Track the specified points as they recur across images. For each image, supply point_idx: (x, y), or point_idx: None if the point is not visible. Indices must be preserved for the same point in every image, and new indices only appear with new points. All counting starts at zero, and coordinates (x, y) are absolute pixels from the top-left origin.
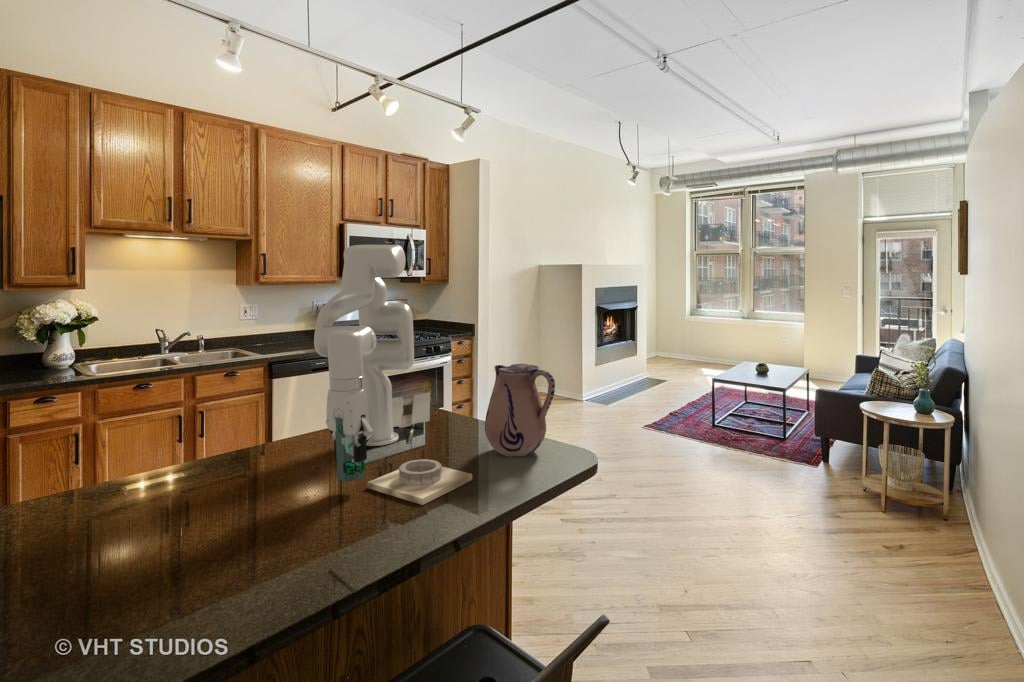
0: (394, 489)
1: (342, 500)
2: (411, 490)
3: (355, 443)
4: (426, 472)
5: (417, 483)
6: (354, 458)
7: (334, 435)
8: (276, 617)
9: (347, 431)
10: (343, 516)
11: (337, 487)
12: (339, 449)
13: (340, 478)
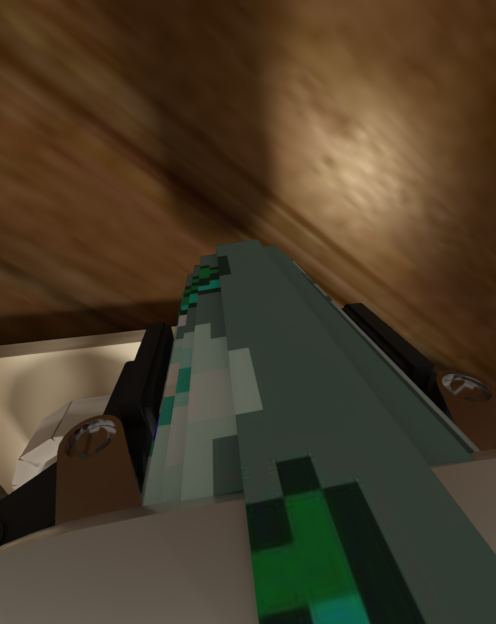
0: (77, 353)
1: (192, 198)
2: (23, 382)
3: (120, 436)
4: (18, 473)
5: (49, 419)
6: (165, 335)
7: (472, 410)
8: None
9: (74, 615)
10: (16, 77)
11: (312, 263)
12: (277, 310)
13: (248, 243)
